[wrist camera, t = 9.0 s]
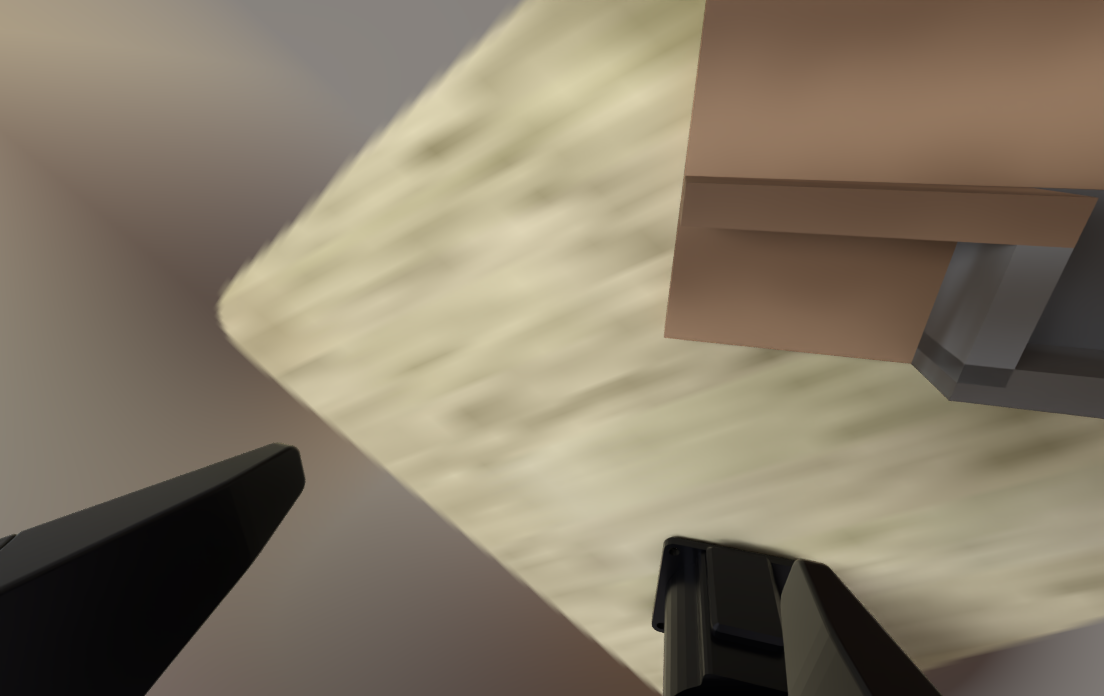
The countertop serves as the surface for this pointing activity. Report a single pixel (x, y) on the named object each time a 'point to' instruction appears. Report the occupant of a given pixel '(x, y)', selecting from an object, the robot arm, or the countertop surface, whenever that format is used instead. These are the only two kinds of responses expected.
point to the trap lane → (902, 191)
